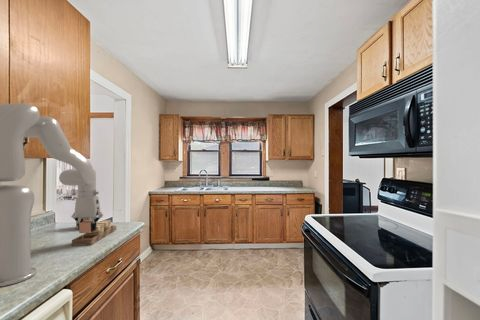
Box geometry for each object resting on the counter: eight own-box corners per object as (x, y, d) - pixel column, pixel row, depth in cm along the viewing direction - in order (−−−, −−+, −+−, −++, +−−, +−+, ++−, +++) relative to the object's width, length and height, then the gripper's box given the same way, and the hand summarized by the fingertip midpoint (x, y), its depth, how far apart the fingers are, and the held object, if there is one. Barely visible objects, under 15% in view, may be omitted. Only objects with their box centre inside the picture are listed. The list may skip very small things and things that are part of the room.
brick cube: (90, 233, 116) (89, 222, 116) (79, 233, 116) (79, 222, 116) (95, 229, 121) (95, 220, 121) (85, 230, 121) (85, 220, 121)
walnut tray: (91, 245, 114) (91, 232, 114) (71, 245, 113) (71, 232, 113) (116, 229, 139) (116, 219, 139) (100, 230, 138) (100, 219, 138)
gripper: (108, 192, 122) (109, 228, 123) (74, 193, 122) (74, 229, 122) (100, 194, 115) (101, 233, 115) (64, 195, 114) (64, 233, 114)
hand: (87, 230), depth 118 cm, fingers closed on brick cube, 4 cm apart
